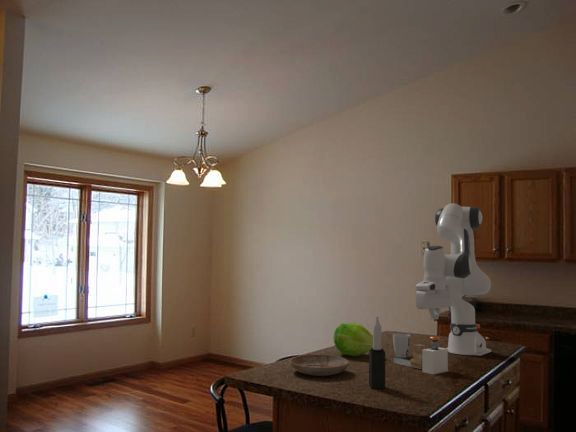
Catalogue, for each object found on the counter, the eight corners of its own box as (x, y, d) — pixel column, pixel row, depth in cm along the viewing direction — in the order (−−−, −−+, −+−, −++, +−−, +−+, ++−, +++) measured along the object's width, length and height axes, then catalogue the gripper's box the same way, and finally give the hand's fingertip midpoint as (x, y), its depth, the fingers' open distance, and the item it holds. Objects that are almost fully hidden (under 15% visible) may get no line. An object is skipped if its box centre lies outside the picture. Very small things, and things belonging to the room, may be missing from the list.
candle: (368, 385, 186) (368, 315, 188) (382, 385, 187) (382, 315, 189) (371, 389, 181) (372, 317, 183) (386, 389, 182) (386, 317, 184)
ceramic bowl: (280, 368, 212) (280, 356, 212) (331, 364, 221) (331, 352, 221) (304, 382, 190) (305, 368, 191) (359, 377, 200) (359, 363, 200)
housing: (437, 368, 215) (437, 347, 215) (447, 371, 211) (447, 348, 212) (422, 372, 209) (422, 349, 209) (432, 374, 205) (432, 351, 205)
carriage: (417, 365, 220) (417, 343, 220) (427, 367, 216) (427, 345, 216) (410, 366, 217) (410, 344, 217) (420, 368, 213) (420, 346, 213)
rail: (396, 362, 227) (396, 357, 227) (431, 370, 212) (431, 365, 212) (393, 362, 226) (393, 358, 226) (428, 370, 211) (428, 365, 211)
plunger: (433, 350, 213) (433, 336, 214) (442, 352, 210) (442, 337, 210) (427, 351, 211) (427, 337, 211) (436, 353, 208) (436, 338, 208)
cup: (410, 358, 235) (410, 336, 236) (392, 357, 237) (392, 335, 237) (410, 355, 243) (410, 333, 244) (392, 354, 245) (392, 333, 245)
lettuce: (367, 365, 229) (369, 332, 228) (326, 356, 239) (327, 324, 238) (379, 355, 244) (381, 324, 243) (340, 346, 254) (342, 316, 252)
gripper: (443, 284, 221) (443, 316, 220) (412, 285, 209) (412, 320, 208) (456, 285, 216) (456, 318, 215) (425, 286, 204) (425, 321, 203)
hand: (434, 319), depth 211 cm, fingers closed
